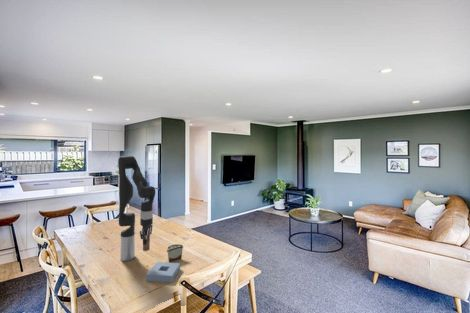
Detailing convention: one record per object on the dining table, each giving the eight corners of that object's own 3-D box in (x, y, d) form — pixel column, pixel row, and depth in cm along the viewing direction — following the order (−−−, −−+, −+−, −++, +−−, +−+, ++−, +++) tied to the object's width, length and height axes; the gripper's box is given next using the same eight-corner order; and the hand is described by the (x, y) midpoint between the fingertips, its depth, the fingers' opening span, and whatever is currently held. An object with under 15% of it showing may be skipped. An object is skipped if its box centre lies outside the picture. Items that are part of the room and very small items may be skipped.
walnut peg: (144, 248, 153) (144, 230, 153) (150, 248, 153) (150, 230, 153) (141, 250, 149) (142, 232, 149) (147, 251, 149) (148, 232, 149)
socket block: (156, 267, 157) (157, 261, 157) (180, 269, 156) (180, 263, 156) (146, 280, 141) (146, 274, 141) (171, 282, 140) (171, 275, 140)
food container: (179, 255, 176) (179, 242, 175) (183, 258, 171) (183, 245, 171) (163, 260, 167) (163, 246, 167) (167, 263, 163) (167, 249, 163)
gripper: (146, 214, 158) (145, 238, 158) (135, 220, 144) (135, 247, 144) (156, 214, 157) (156, 239, 158) (147, 220, 143) (146, 248, 144)
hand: (146, 243), depth 151 cm, fingers closed on walnut peg, 4 cm apart
